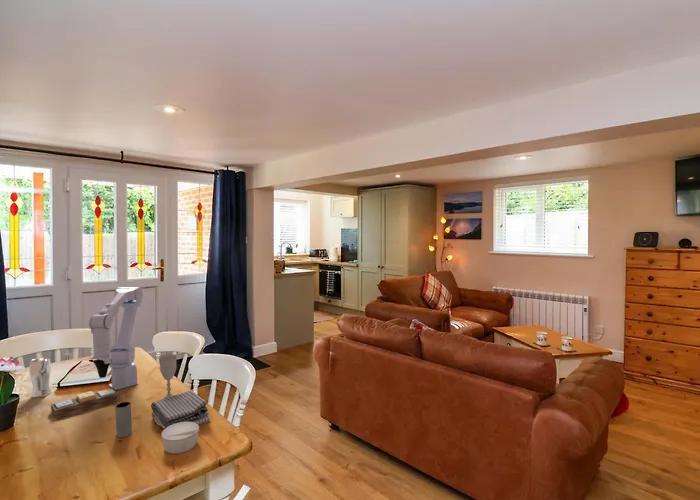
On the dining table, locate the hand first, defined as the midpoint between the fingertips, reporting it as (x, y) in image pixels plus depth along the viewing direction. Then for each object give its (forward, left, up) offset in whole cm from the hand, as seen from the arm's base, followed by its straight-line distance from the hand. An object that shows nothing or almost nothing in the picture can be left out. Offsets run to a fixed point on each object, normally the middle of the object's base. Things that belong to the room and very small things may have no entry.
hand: (102, 377), depth 157 cm
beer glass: (+16, -25, -10) cm, 31 cm away
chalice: (-18, +20, -10) cm, 29 cm away
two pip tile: (+6, +1, -7) cm, 9 cm away
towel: (-14, +39, -10) cm, 43 cm away
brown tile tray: (+6, +1, -9) cm, 11 cm away
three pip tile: (+13, +1, -8) cm, 16 cm away
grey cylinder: (+3, +35, -10) cm, 37 cm away
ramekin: (-7, +56, -10) cm, 57 cm away
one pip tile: (-1, +1, -8) cm, 8 cm away
